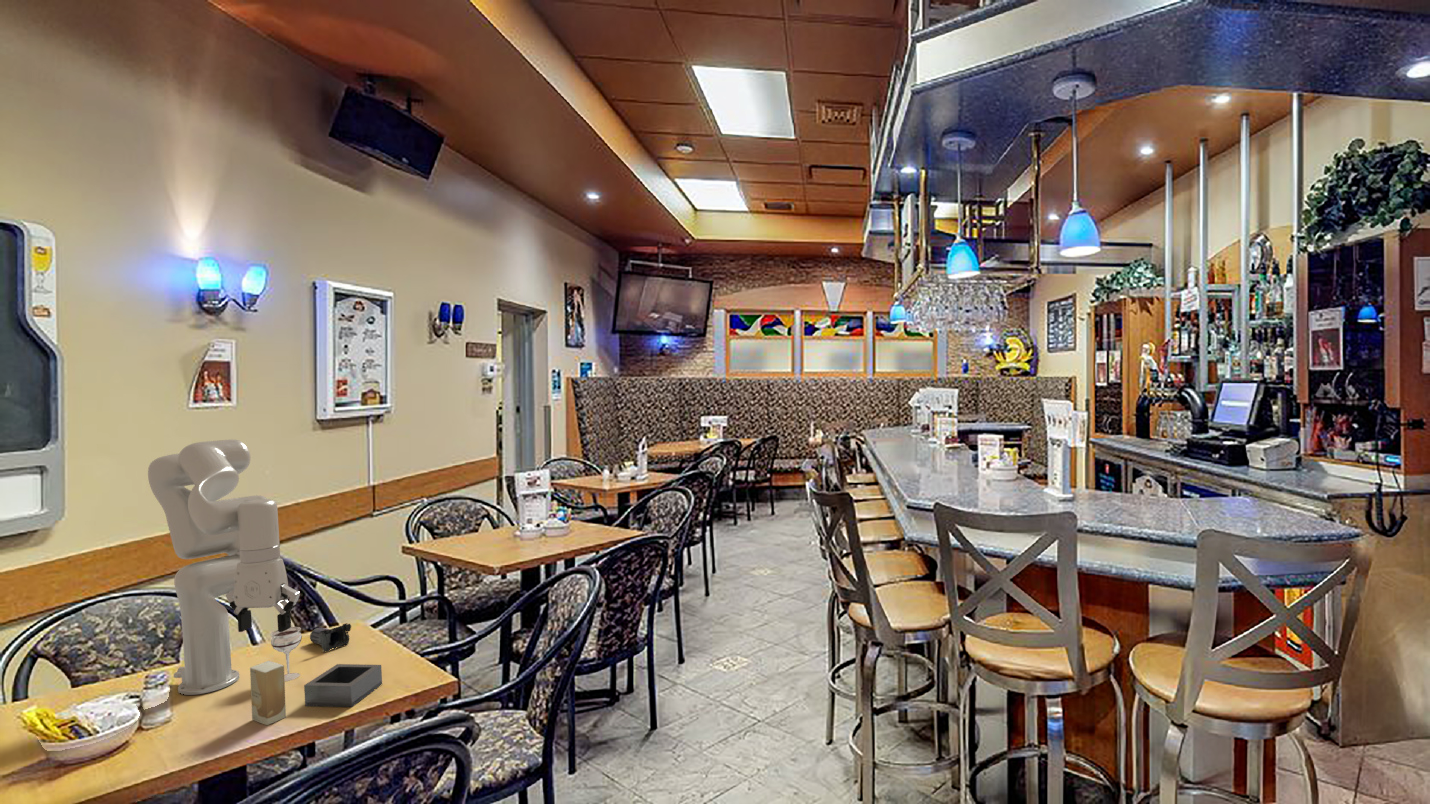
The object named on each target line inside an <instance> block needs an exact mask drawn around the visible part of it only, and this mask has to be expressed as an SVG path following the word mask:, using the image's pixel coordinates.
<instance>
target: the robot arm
mask: <svg viewBox="0 0 1430 804" xmlns="http://www.w3.org/2000/svg"><path fill="white" fill-rule="evenodd" d="M250 463H251V453H250V449H249V447H248V446H247V445H246V444H245V443H244V442H243V441H241V440H238V439H223V440H211V441H210V440H207V441H198V442H195V443H193V442H192V443H191V444H188V445H186V446H185V447H184V448H182V449H181V451H180V452H179V453H172V454H167V455H164V456H160V457H157V458H155V459H154V460H152V461H151V462H150V464H149V465H148V470H147V477H148V478H147V479H148V480H147V481H148V484H149V487H150V489H151V492H152V494H153V496H154V497H155V499H156V500H157V502H158V503H159V504H160V506H161V508H162V509H163V511H164V514H165V518H166V522H167V527H168V531H169V535H170V540H171V543H172V546H173V550H174V553H175V555H176V556H177V557H178V558H180V559H182V560H194V559H198V558H199V559H200V558H204V557H210V556H217V555H219V554H227V556H223V557H218V558H211V559H207V560H202V561H196V562H193V563H190V564H187V565H185V566H183V567H182V568H180V569H179V570H178V571H177V572H176V574H175V575H174V580H173V581H174V588H175V589H174V590H175V593H176V596H177V600H178V604H179V611H180V620H181V621H180V622H181V630H182V631H181V633H182V644H183V646H182V647H183V649H182V650H183V662H184V663H183V666H179V667H178V668H177V671H176V672H174V673H173V678H175V679H181V683H180V684H178V687H177V692H178V694H180V693H181V695H183V694H184V695H183V696H196V695H203V694H207V693H212V692H215V691H218V690H221V689H224V688H226V687H229V686H230V685H232V684H234V683H235V682H237V681H238V680H239V679H240V672H239V671H238V670H236V669H232V655H231V654H232V653H231V652H232V651H231V640H230V639H231V638H230V635H231V634H230V621H229V613H228V610H227V608H226V606H225V605H223V604H221V603H220V602H218V601H217V600H216V598H217V597H220V596H221V597H222V596H224V595H225V598H226V600H227V602H228V603H229V607H230V608H231V609H232V610H233V613H234V615H237V630H238V633H242V632H245V631H247V630H249V629H251V628H253V621H252V618H253V617H252V610H251V609H253V608H255V609H258V608H259V609H261V608H263V609H266V608H272V607H274V608H275V609H276V611H277V612H278V613H279V614H277V616H276V617H277V630H278V631H279V632H283V631H285V630H287V629H289V628H291V627H292V615H291V611H293V609H294V607H295V606H297V605H298V600H299V598H300V596H301V593H300V591H298V590H296V589H294V588H292V587H291V586H289V581H288V576H287V570H286V566H285V563H284V559H283V558H281V548H280V532H279V531H280V530H279V528H280V527H279V515H278V514H279V513H278V510H279V509H278V504H277V502H276V501H275V500H274V499H271V498H266V496H264V495H248V496H242V497H233V498H227V499H222V498H224V497H226V496H228V495H229V494H231V493H232V492H233V491H234V490H235V489H236V487H237V486H238V484H239V482H240V481H239V480H240V476H239V475H240V474H241V473H244V472H245V470H247V469H248V467H249V466H250ZM185 486H193V487H192V488H191V490H190V489H188V488H187V487H185ZM220 499H221V500H220ZM288 599H289V600H288Z"/></svg>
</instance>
